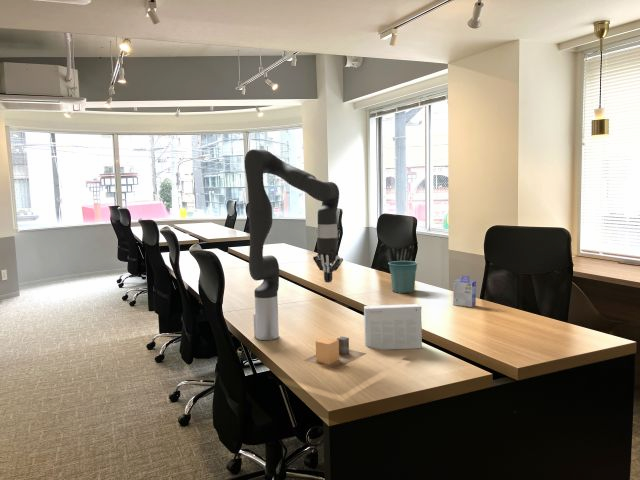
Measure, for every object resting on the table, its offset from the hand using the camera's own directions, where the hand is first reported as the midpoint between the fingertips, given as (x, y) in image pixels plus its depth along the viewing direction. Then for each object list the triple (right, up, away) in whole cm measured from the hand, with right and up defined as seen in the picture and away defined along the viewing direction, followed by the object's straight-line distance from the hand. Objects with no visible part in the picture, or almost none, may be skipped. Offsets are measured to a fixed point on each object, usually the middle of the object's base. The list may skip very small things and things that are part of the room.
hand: (328, 282), depth 190 cm
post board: (+2, -27, -12) cm, 29 cm away
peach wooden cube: (0, -26, -16) cm, 30 cm away
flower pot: (+44, -13, +96) cm, 106 cm away
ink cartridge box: (+68, -17, +61) cm, 93 cm away
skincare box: (+24, -25, +1) cm, 35 cm away
